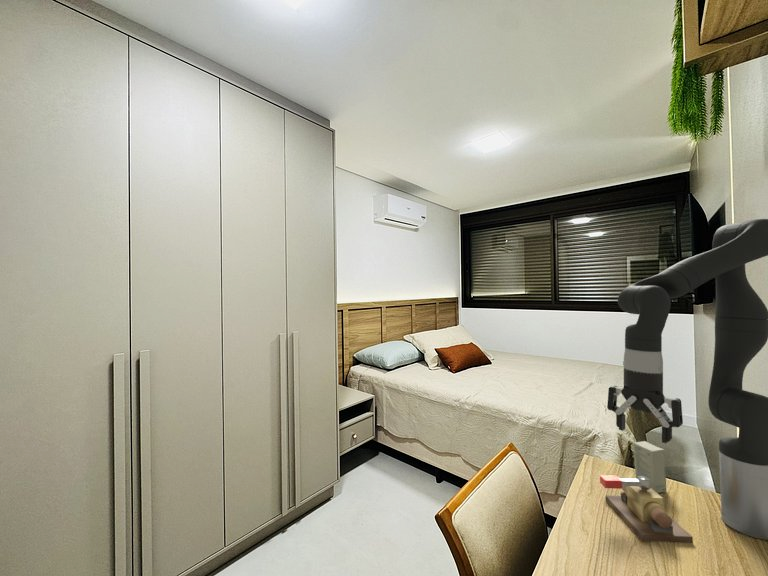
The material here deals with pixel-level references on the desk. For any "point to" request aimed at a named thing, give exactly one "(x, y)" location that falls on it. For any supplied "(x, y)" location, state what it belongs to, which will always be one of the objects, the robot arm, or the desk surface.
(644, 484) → the valve lever
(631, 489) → the valve rig
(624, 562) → the desk surface
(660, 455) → the skincare box
